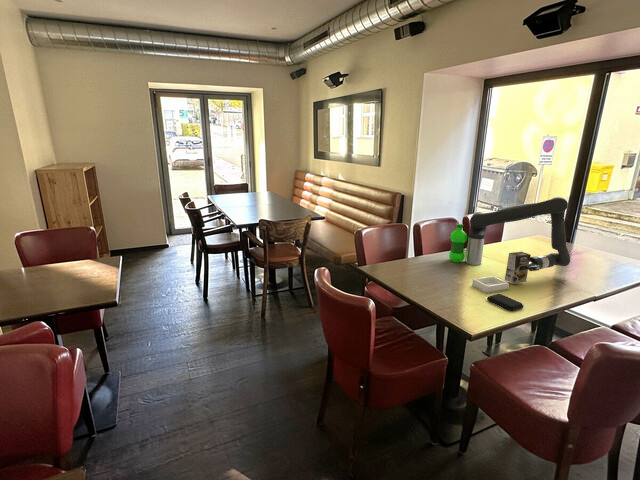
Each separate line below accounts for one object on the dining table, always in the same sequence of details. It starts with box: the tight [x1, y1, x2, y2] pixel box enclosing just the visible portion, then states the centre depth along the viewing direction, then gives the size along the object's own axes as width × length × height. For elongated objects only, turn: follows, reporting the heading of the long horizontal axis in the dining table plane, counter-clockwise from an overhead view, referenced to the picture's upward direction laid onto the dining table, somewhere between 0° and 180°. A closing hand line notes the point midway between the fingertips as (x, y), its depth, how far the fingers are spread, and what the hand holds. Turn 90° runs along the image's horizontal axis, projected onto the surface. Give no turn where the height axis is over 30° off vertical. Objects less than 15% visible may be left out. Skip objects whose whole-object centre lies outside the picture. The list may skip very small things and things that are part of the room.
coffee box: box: [504, 251, 532, 285], centre depth 193 cm, size 9×6×16 cm
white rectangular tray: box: [471, 275, 510, 294], centre depth 189 cm, size 11×14×4 cm
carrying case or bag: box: [486, 293, 524, 312], centre depth 170 cm, size 11×3×15 cm
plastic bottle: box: [448, 223, 468, 263], centre depth 230 cm, size 10×10×25 cm
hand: (514, 266), depth 192 cm, fingers closed on coffee box, 6 cm apart
